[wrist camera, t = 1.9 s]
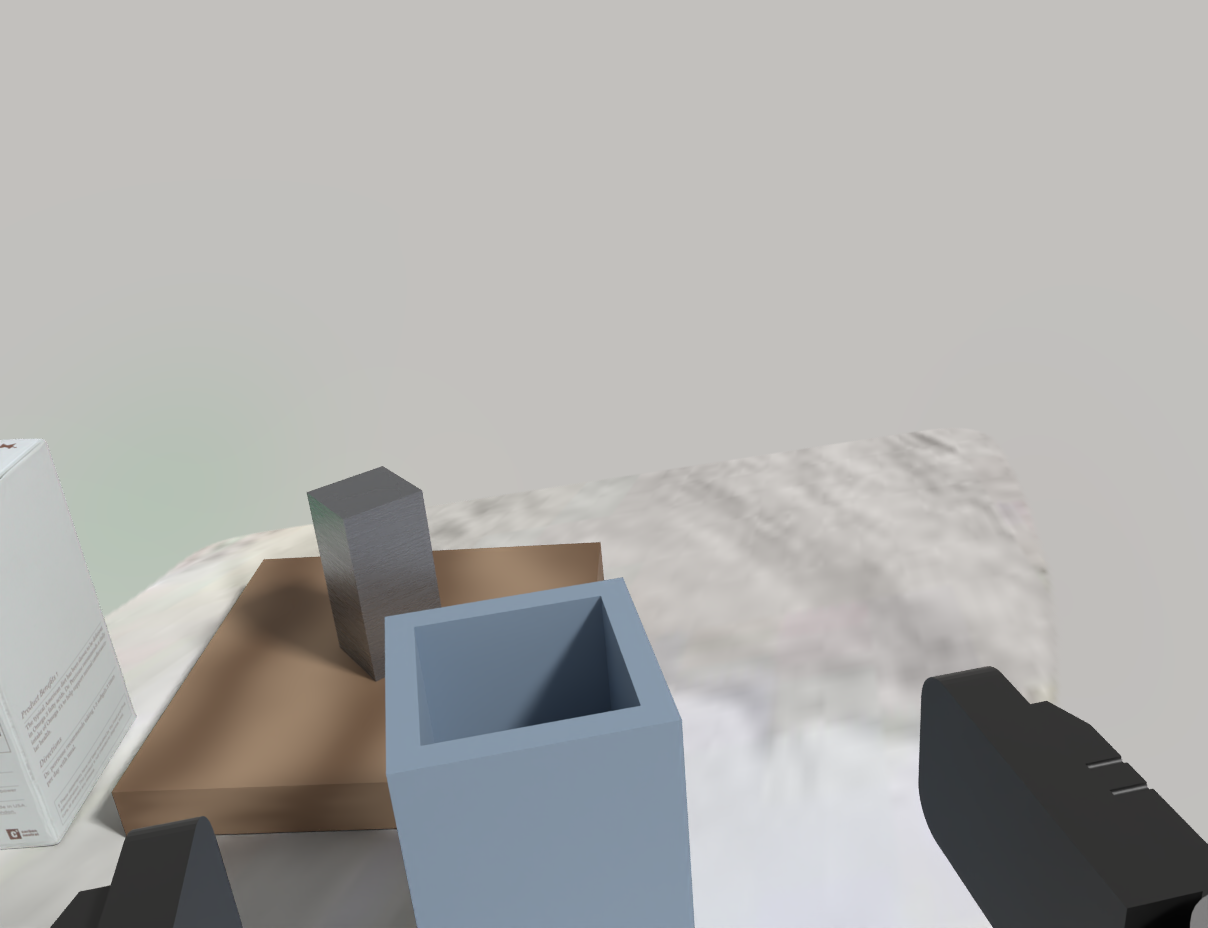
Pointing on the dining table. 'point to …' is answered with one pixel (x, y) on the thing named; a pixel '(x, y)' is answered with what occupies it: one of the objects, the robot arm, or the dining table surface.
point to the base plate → (301, 703)
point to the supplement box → (49, 658)
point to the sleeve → (537, 764)
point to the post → (373, 559)
